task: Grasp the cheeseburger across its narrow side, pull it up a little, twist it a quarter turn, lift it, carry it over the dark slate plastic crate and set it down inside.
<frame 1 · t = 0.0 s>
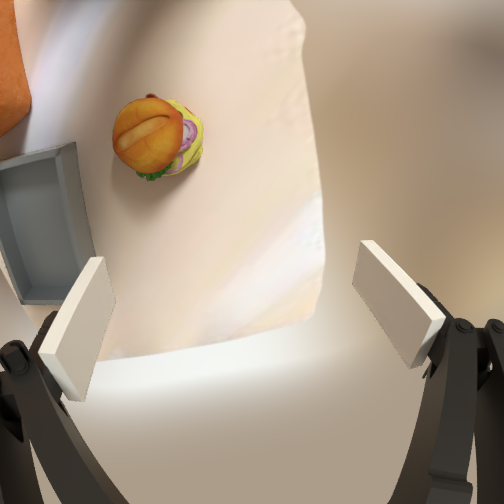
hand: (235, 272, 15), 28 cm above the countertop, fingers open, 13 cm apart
crate: (46, 224, 39), on the countertop
cheeseburger: (163, 136, 36), on the countertop
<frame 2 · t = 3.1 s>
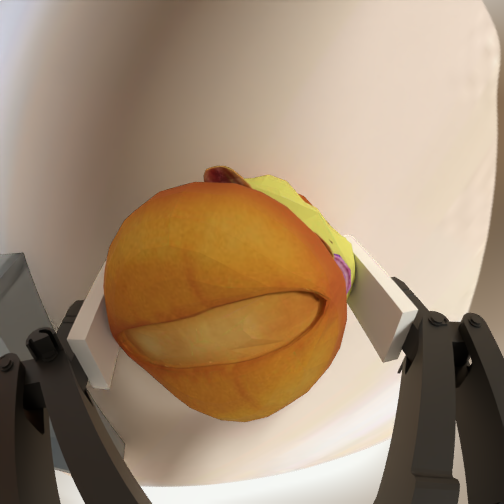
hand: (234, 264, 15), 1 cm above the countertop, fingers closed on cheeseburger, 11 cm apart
crate: (14, 372, 19), on the countertop
cheeseburger: (232, 254, 16), on the countertop, touching gripper
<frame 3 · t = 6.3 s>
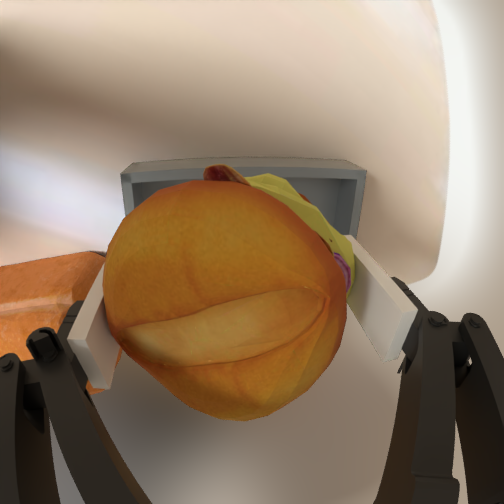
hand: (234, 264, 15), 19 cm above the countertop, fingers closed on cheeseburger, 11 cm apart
crate: (242, 225, 35), on the countertop
bread: (46, 296, 35), on the countertop
cheeseburger: (232, 253, 16), point 17 cm above the countertop, touching gripper
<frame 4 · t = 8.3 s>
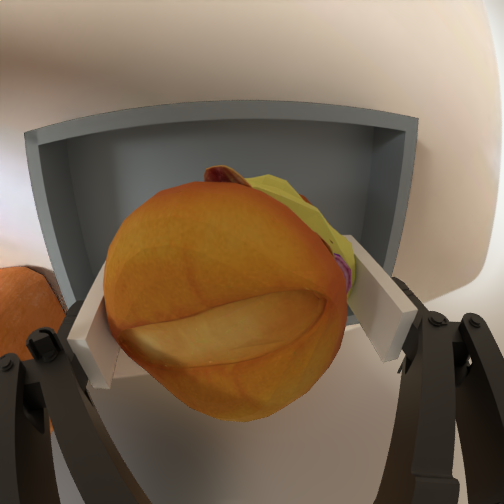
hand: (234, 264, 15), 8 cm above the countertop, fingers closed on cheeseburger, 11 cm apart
crate: (223, 211, 22), on the countertop
cheeseburger: (232, 254, 16), point 6 cm above the countertop, touching gripper
when the fingers open (4 cm above the countertop, at t = 9.9 s): cheeseburger drops 2 cm, resting on crate.
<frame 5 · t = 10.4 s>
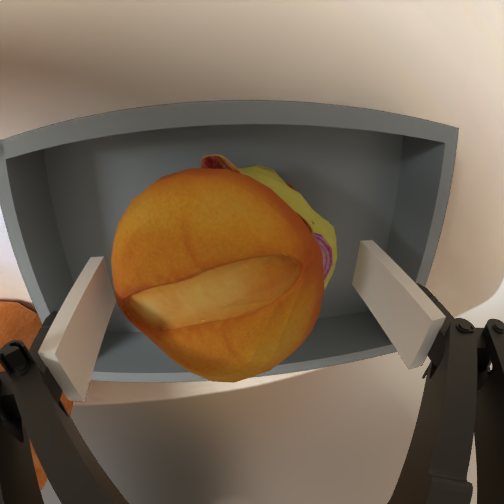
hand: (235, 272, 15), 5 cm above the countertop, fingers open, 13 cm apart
crate: (229, 232, 19), on the countertop
cheeseburger: (227, 238, 18), point 1 cm above the countertop, touching crate
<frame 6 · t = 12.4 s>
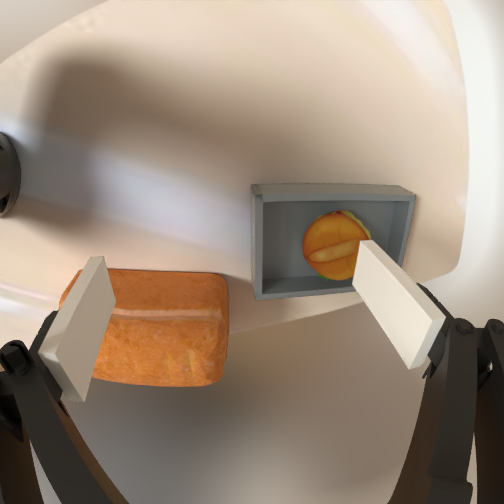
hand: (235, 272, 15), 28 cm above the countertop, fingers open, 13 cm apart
crate: (327, 233, 46), on the countertop
bread: (151, 300, 48), on the countertop
cheeseburger: (328, 235, 45), point 1 cm above the countertop, touching crate
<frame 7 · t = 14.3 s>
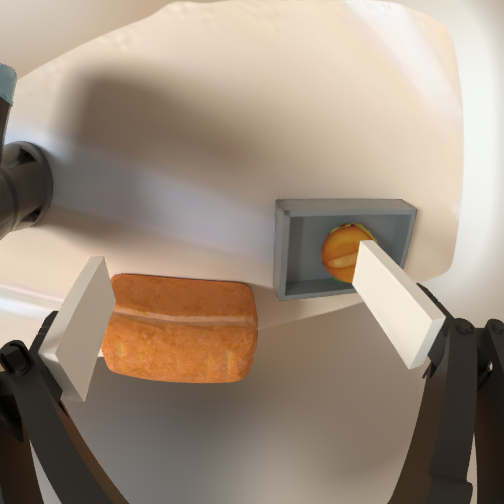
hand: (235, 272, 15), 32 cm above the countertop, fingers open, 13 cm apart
crate: (340, 241, 52), on the countertop
bread: (179, 304, 54), on the countertop
cheeseburger: (341, 243, 51), point 1 cm above the countertop, touching crate
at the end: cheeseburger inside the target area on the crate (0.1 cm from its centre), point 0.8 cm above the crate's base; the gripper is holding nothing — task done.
